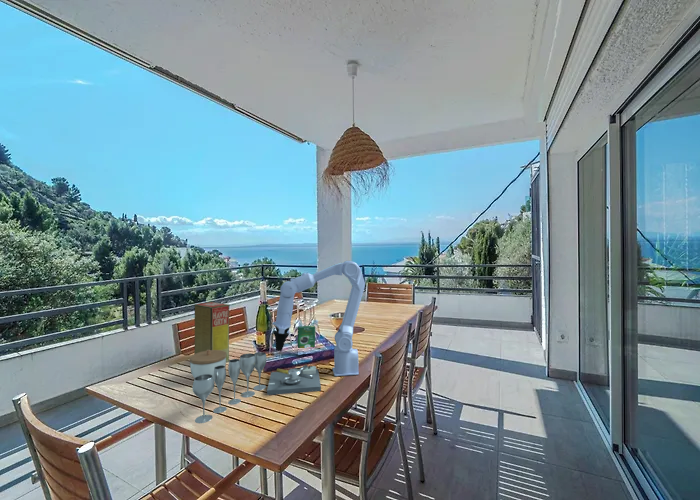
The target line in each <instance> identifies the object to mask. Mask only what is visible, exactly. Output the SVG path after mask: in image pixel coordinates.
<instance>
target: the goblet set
mask: <svg viewBox="0 0 700 500" xmlns="http://www.w3.org/2000/svg"><path fill="white" fill-rule="evenodd" d="M266 364H267V353H266V352H264V351H259V352H255V353H244V354H241V355H240V356H239V358H233V359H229V362H228V366H227V369H226V366H223V365H221V366H216V367H215V368H214V379H213V376H212V375H210V374H204V375H199V376H197V377H196V378H194V380H193V383H192V389H191V390H192V393H193V394H194V395H195V396H196V397H198V398H199V399H200V400H201V403H202V415H200V416H197V417H196V418H195V419H194V423H196V424H204V423H208V422H210V421H211V420H212V419H213V418H214V416H213V415H212V414H205V406H206V405H205V404H206V400H207V398H208V397H209V395H211V393H212V392H213V391H214V389H215V385H216V387H217V390H218V398H219V399H218V400H219V401H218V402H219V403H218V404H219V406H218V407H216V408H214V409H212V410H213V411H212V412H213V413H214V414H220V413H221V414H222V413H225V412H226V411H227V410H228V408H227V407H226V406H222V405H221V404H222V403H221V401H222V399H221V396H222V390H223V386H224V384H225V381H226V378H227V370H228V375H229V377H230V379H231V381H232V385H233V398H232V399H230V400H229V401H228V402H227V403H228V404H229V405H230V406H231V405H233V406H235V405H238V404H240V403H241V402H242V399H240V398H236V384H237V381H238V379H239V376H240V373H242V374H243V375H244V377H245V378H246V391H244V392H242V393H240V397H241V398H246V399H248V398H252V397H253V396H255V395H256V392H255V391H262V390H265V389H266V388H267V386H266V385H265V384H261V378H262V377H261V375H262V372H263V369H264V368H265V366H266ZM254 370H256V371H257V375H258V384H257V385H255V386H253V388H252V389H253V390H255V391H253V390H249V380H250V376H251V375H252V373H253V371H254Z"/></svg>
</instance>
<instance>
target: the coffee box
mask: <svg viewBox="0 0 700 500" xmlns="http://www.w3.org/2000/svg"><path fill="white" fill-rule="evenodd" d="M296 345H297V346H298V348H307V347H315V348H316V325H313V324H312V325H303V326H297V344H296ZM297 346H296V347H297Z"/></svg>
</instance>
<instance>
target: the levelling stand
mask: <svg viewBox="0 0 700 500" xmlns="http://www.w3.org/2000/svg"><path fill="white" fill-rule="evenodd" d="M301 373H303V374H308V375H313V379H309V378H304V377H301V382H300V383H298V384H285V383H284V382H283V383H282V384H281V383H280V380H281V379H283V378H284V377H285V376H288V374H285V373H280V372H277V371H271V372H270V375H269V381H268V385H267V389H266V396H270V395H271V396H273V395H284V394H285V395H286V394H287V395H288V394H295V393H296V394H298V393H311V392H321V391H322V384H321V379H320V373H319V369H318V368H317V367H316V365H313V366H308V367H307V368H306V369H305V370H303V371H301Z"/></svg>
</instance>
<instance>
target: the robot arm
mask: <svg viewBox="0 0 700 500" xmlns="http://www.w3.org/2000/svg"><path fill="white" fill-rule="evenodd" d="M331 276H344V277H346V278H347V279H348V281H349V283H350V284H351V289H350V293H349V297H348V300H347V303H346V307H345V312H344V314H343V317H342V322H341V323H340V325H339V327H338V330H337V331H336V333H335V335H334V341H335V343H336V344H335V347H333V348H334V349H333V350H334V352H333V353H334V355H333V357H334V363H333V365H334V367H332V371H333V375H334V377H343V376H345V377H346V376H355V375H356V376H358V375H360V373H359V351H358V348H353V335H354V326H355V323H356V320H357V317H358V316H357V315H358V313H359V308H360V306H361V305H360V304H361V301H362V298H363V296H364V295H363V294H364V291H365V288H366V283H365V279H364V276H363V273H362V268H361V267H360V266H359V264H358V263H356V262H355V261H351V260H346V261H344V262H339V263H336V264H333V265H331V266H328V267H326V268H324V269H321V270H319V271H317V272H315V273H313V274H311V273H309V272H302V273H301V275H299V276H297V277H295V278H290V281H289V280H288V281H287V280H286V281H285V282H283V283H282V285H281V286H280V289H279V291H280V295H279V300H278V304H277V310H276V311H277V312H276V318H275V321H273V322H272V323H271V324H272V326H275V329H276V330H274V331H273V336H274V339H275V340H274V341H275V351H278V352H282V351H283V348H284V346H285V343H286V340H287V338H288V337H289V336H290V333H289V330H290V329H291V326H292V318H293V317H292V316H293V310H294V303H295V301H294V298H295V294H296V293H301V292H304V291H306V290H309V289H311V288H313V287H314V286H315V284H316V282H319V281H321V280H324V279H327V278H329V277H331Z"/></svg>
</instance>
